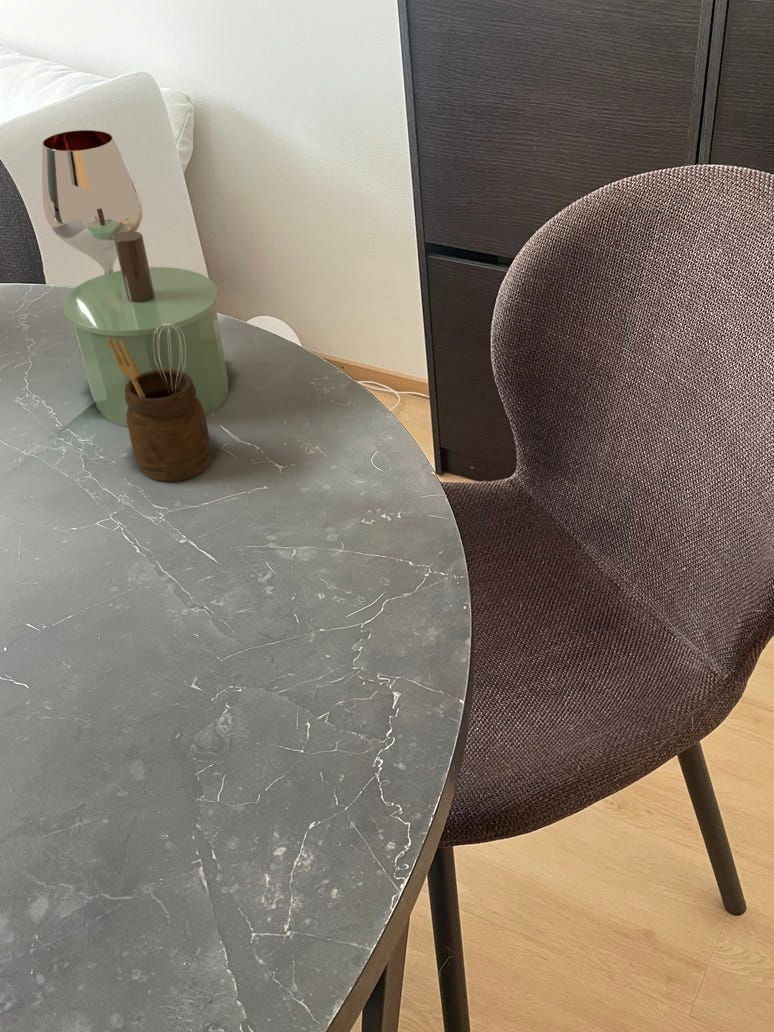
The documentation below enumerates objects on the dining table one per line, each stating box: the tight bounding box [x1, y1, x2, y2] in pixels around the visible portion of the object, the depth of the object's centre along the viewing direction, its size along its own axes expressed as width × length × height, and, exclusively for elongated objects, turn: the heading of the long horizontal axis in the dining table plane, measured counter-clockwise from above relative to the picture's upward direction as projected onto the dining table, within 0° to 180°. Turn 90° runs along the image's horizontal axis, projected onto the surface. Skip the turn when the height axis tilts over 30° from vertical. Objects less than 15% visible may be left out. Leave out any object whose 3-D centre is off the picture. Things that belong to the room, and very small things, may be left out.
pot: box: [72, 305, 229, 428], centre depth 89 cm, size 11×11×8 cm
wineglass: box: [41, 129, 144, 275], centre depth 93 cm, size 8×8×18 cm
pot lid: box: [62, 231, 220, 336], centre depth 84 cm, size 12×12×6 cm
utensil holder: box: [107, 323, 212, 482], centre depth 79 cm, size 6×6×12 cm
